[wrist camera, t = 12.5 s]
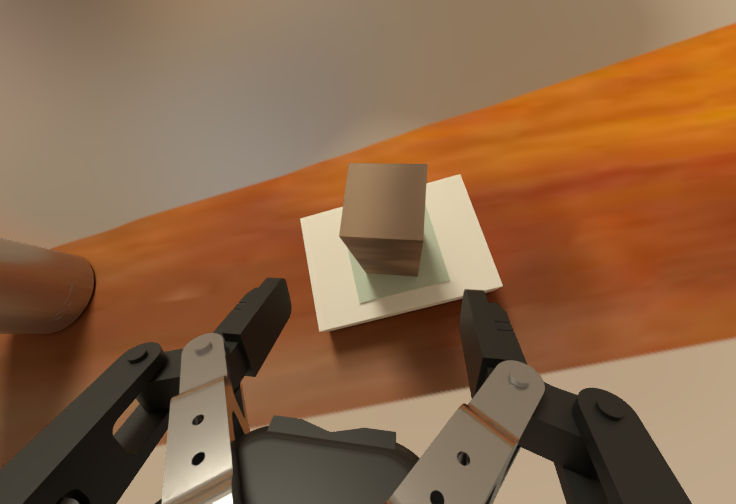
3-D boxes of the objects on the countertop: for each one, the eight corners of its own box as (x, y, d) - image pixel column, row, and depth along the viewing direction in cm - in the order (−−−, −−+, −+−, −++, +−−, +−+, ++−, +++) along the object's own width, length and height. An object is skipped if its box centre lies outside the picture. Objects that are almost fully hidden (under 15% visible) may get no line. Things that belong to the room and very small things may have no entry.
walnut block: (365, 272, 25) (338, 236, 16) (370, 224, 26) (348, 163, 17) (417, 276, 24) (423, 240, 15) (420, 227, 26) (427, 164, 16)
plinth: (328, 331, 27) (318, 331, 24) (310, 229, 31) (299, 217, 28) (492, 291, 26) (503, 285, 23) (455, 189, 29) (460, 173, 26)
